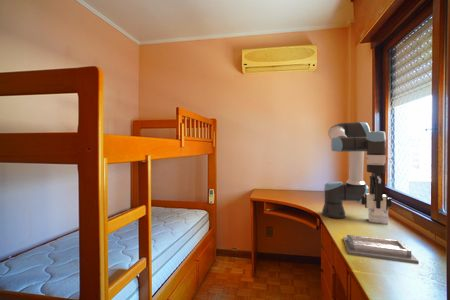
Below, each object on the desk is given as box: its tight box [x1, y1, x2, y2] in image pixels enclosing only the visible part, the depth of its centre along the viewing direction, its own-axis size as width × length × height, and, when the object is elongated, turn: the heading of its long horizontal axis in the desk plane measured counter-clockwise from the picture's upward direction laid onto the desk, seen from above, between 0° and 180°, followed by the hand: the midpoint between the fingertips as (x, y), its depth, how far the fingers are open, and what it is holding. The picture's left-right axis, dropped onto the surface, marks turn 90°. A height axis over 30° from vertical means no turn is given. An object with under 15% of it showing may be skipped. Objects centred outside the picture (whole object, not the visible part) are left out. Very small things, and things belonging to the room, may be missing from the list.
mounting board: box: [342, 236, 420, 264], centre depth 111 cm, size 19×26×1 cm
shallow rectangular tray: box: [346, 234, 412, 257], centre depth 111 cm, size 12×23×2 cm, turn 70°
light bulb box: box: [368, 208, 389, 225], centre depth 153 cm, size 11×7×11 cm, turn 59°
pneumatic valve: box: [360, 192, 393, 219], centre depth 111 cm, size 6×12×12 cm, turn 61°
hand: (376, 213), depth 111 cm, fingers closed on pneumatic valve, 5 cm apart
